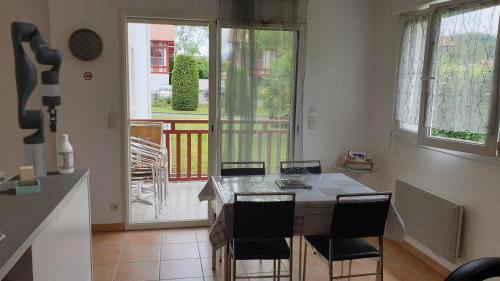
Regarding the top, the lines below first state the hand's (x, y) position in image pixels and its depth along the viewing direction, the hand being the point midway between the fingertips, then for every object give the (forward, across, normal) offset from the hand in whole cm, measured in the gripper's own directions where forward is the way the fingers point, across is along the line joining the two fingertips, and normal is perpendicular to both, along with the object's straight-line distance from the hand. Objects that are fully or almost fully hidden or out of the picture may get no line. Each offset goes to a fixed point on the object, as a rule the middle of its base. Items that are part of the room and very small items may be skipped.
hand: (53, 130), depth 173 cm
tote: (+25, +5, -11) cm, 28 cm away
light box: (+20, +5, -11) cm, 23 cm away
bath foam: (+26, -24, +6) cm, 35 cm away
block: (+25, +5, -11) cm, 28 cm away
